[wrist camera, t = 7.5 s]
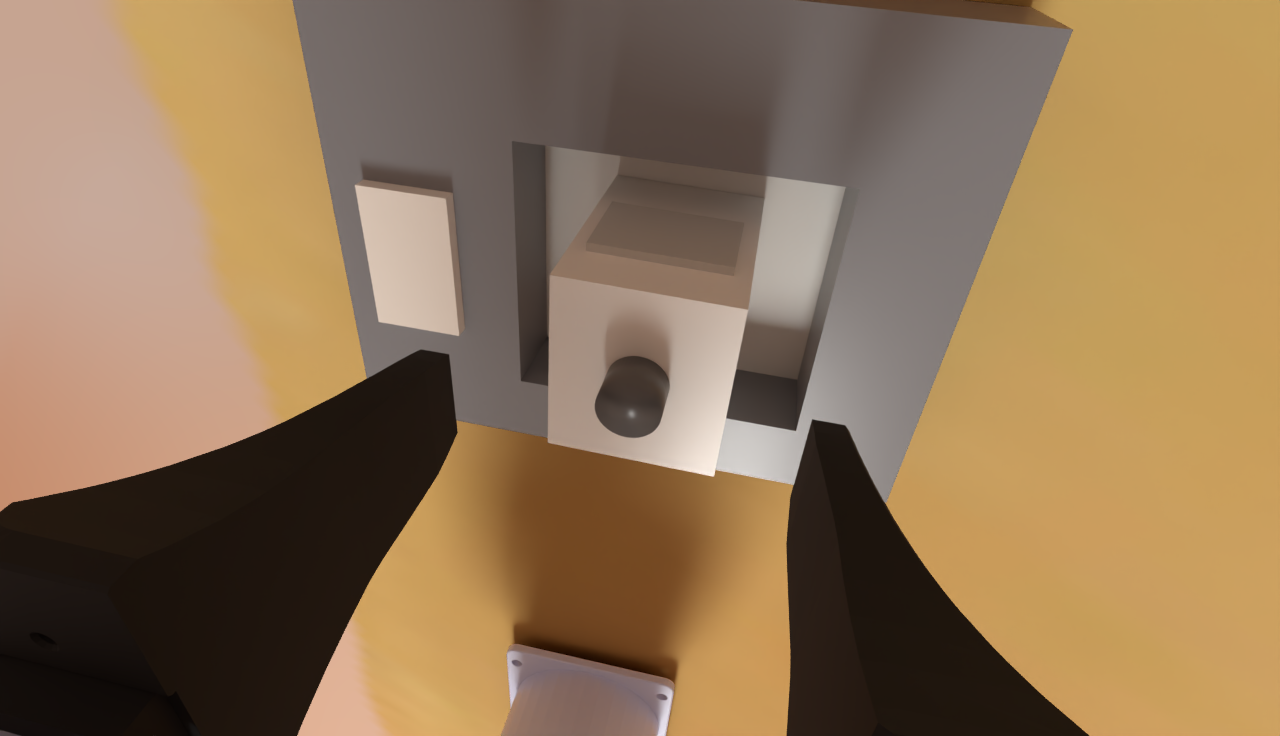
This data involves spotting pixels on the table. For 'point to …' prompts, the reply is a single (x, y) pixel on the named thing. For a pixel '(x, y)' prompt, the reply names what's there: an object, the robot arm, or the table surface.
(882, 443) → the socket plate
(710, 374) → the plug
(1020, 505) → the table surface
